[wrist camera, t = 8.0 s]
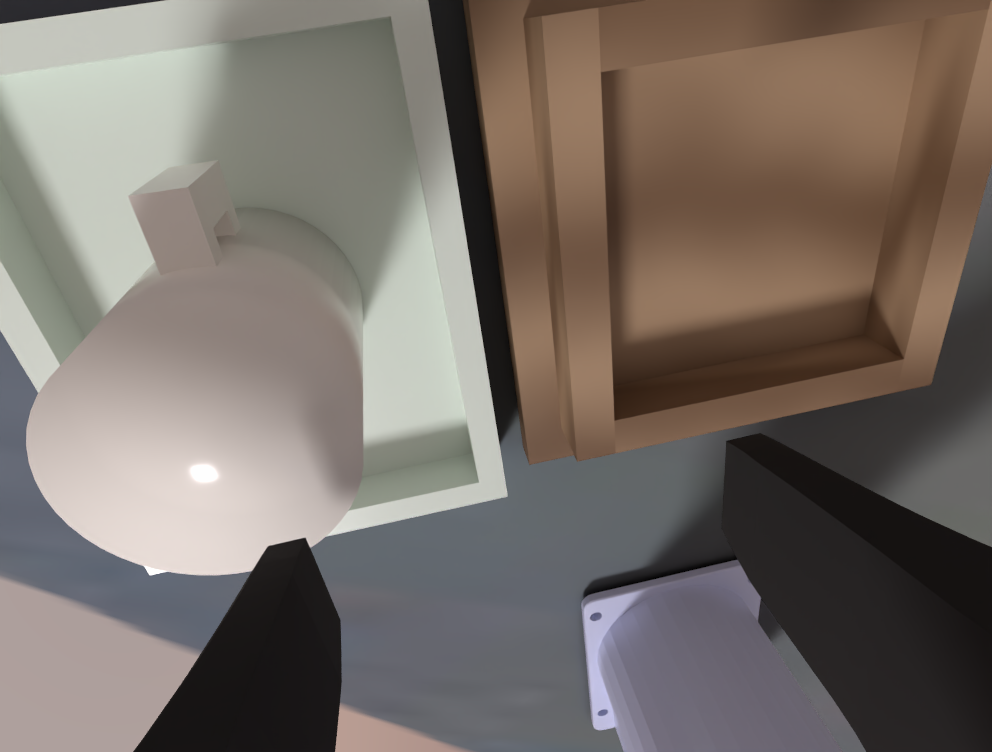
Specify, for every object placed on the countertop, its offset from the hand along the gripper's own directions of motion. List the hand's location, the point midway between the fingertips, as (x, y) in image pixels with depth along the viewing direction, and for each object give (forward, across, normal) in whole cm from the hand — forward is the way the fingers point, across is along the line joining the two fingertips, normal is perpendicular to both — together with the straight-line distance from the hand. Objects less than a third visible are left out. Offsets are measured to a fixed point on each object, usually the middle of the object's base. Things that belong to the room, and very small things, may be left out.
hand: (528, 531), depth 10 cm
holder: (+9, -8, -2) cm, 13 cm away
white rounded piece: (+8, +5, -2) cm, 10 cm away
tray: (+9, +5, -2) cm, 11 cm away
